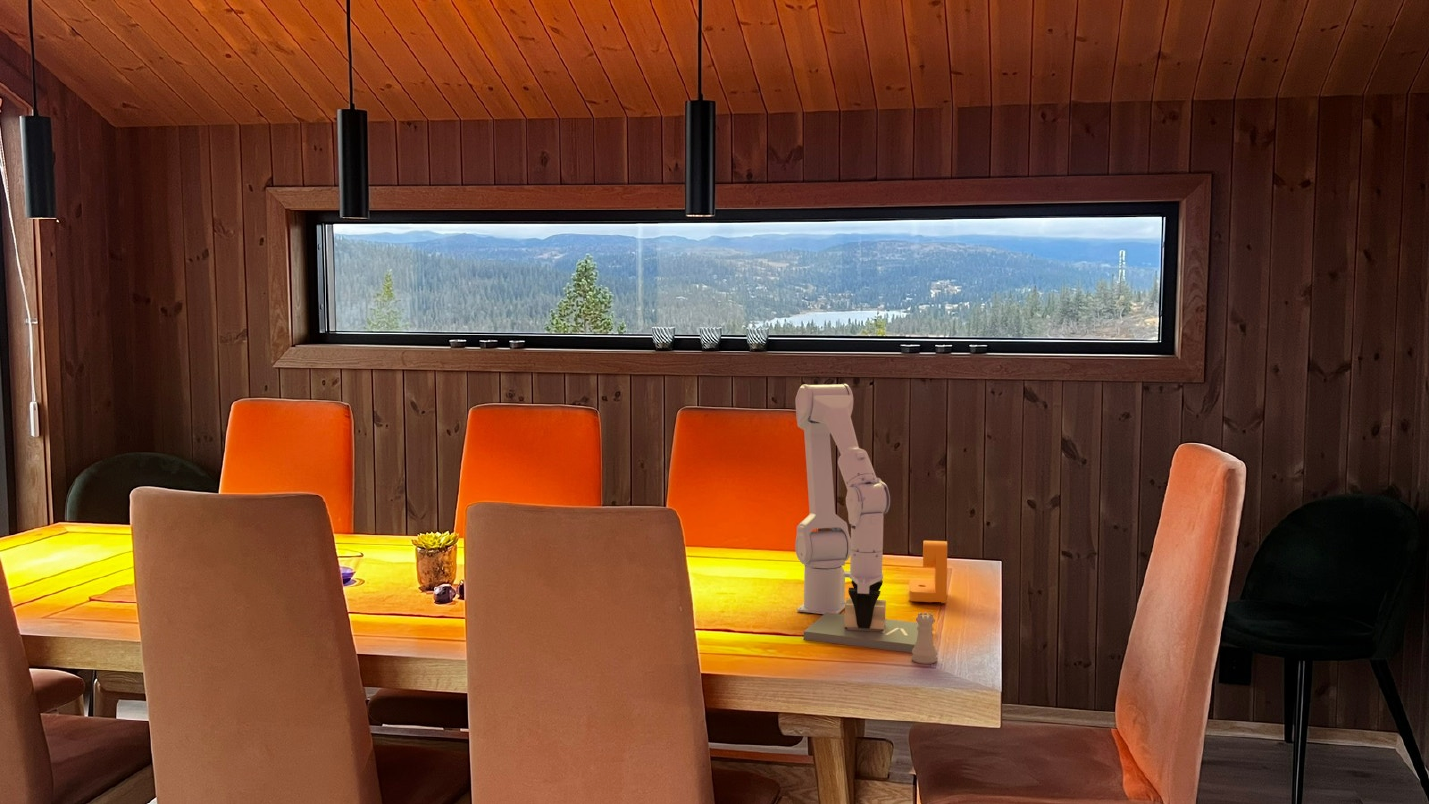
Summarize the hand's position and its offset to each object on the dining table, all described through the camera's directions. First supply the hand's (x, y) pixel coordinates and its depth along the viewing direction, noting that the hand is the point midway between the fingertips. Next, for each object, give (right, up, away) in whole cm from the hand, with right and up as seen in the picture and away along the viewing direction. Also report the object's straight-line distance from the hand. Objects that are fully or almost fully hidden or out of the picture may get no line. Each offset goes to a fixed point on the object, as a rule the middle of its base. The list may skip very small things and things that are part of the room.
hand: (864, 623), depth 220 cm
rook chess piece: (+8, -4, -14) cm, 17 cm away
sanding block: (0, -1, 0) cm, 1 cm away
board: (+1, -2, 0) cm, 2 cm away
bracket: (+16, 0, +27) cm, 31 cm away
